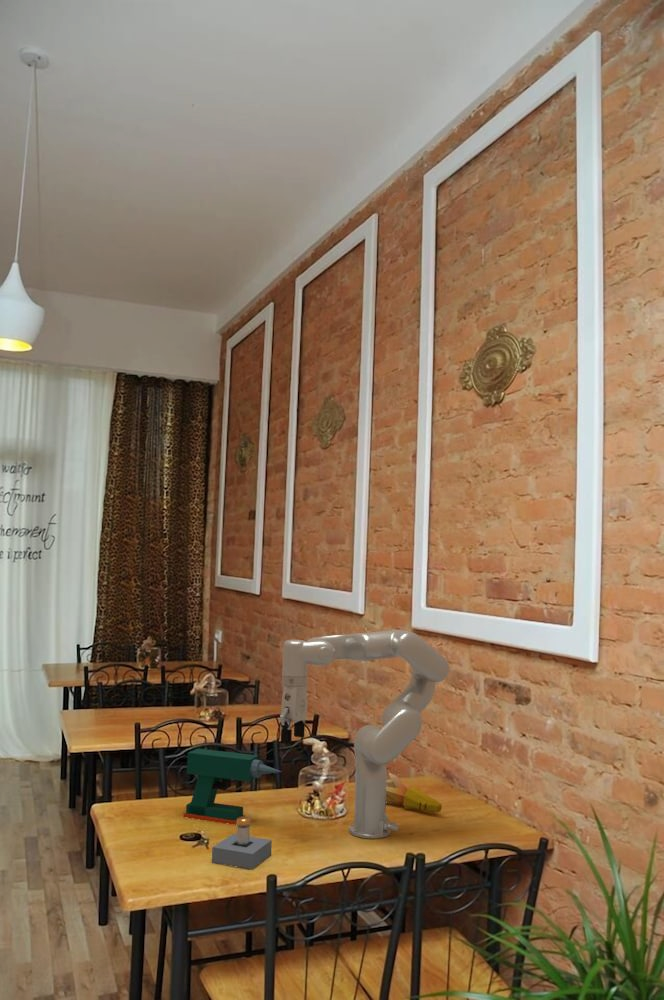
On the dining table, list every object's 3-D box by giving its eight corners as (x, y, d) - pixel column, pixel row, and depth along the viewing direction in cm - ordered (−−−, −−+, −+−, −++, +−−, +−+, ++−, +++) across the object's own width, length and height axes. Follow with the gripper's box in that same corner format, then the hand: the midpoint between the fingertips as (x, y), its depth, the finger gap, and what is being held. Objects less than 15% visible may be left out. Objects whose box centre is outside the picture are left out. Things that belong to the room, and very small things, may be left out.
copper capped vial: (242, 855, 220) (244, 815, 221) (252, 858, 218) (253, 818, 219) (232, 858, 217) (233, 818, 218) (241, 862, 215) (243, 821, 216)
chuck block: (271, 854, 221) (271, 839, 221) (252, 869, 210) (252, 853, 210) (232, 848, 225) (233, 833, 226) (211, 862, 214) (212, 847, 214)
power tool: (285, 824, 248) (287, 758, 249) (276, 831, 241) (278, 763, 243) (194, 811, 258) (196, 748, 260) (183, 817, 252) (186, 752, 253)
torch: (436, 829, 258) (377, 802, 275) (450, 813, 264) (390, 787, 280) (432, 809, 255) (372, 783, 272) (446, 793, 261) (386, 769, 277)
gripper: (294, 686, 230) (292, 747, 228) (316, 679, 246) (315, 735, 244) (271, 684, 232) (269, 744, 231) (294, 677, 249) (292, 733, 247)
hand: (292, 739), depth 238 cm, fingers open, 9 cm apart
